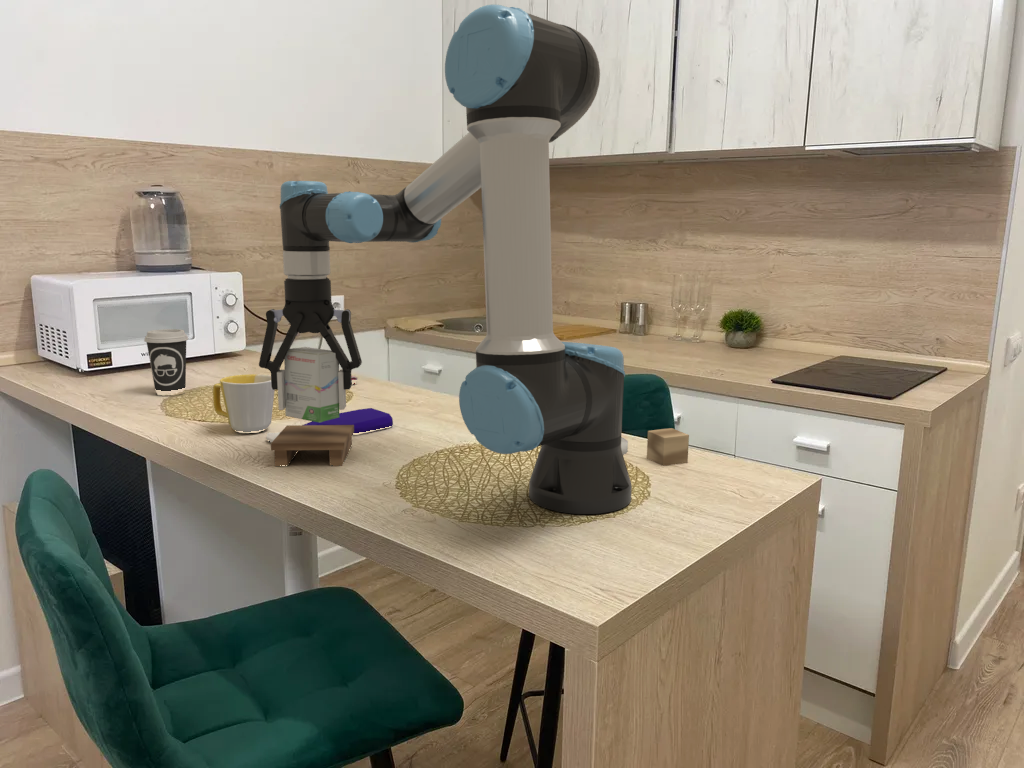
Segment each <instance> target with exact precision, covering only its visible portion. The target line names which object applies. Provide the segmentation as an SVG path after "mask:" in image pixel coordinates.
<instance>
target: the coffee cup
mask: <svg viewBox="0 0 1024 768" xmlns="http://www.w3.org/2000/svg"><path fill="white" fill-rule="evenodd" d="M188 340H189V336H188V334H187V333H185V330H184V329H180V328H179V329H178V328H177V329H175V328H166V329H165V328H164V329H153V330H147V332H146V336H144V339H143V342H145V343H146V346H147V352H148V358H149V363H150V368H151V374H152V380H153V385H154V390H155V389H156V390H161V391H171V390H178V389H182V388H185V387H186V384H187V383H186V379H187V378H186V375H187V373H186V372H187V341H188Z"/></svg>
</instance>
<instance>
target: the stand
mask: <svg viewBox="0 0 1024 768" xmlns="http://www.w3.org/2000/svg"><path fill="white" fill-rule="evenodd" d="M280 432H281V433H280V434H279V435H278V436H277V437H276V438H275V439H274V440H273V442H272V443H271V442H270V451H273V453H274V455H273V456H274V467H275V466H280V465H281V466H282V465H285V466H286V465H288V464H289V462H290V461H291V460H292V461H293V459H294V458H295V457H294V455H295V454H296V452H297V451H298V450H299V451H329V454H328V455H329V467H342V466H343V464H344V463H345V461H344V460H346V459H345V458H347V457H348V455H349V453H350V451H349V449H350V447H351V445H352V446H353V442H352V441H353V439H352V437H353V436H352V435H353V433H354V425H304V424H302V425H301V424H298V425H297V424H296V425H286V426H285V427H284V428H283V429H282V430H281V431H280ZM351 448H352V447H351ZM350 450H351V449H350ZM299 451H298V452H299ZM348 452H349V453H348ZM347 454H348V455H347ZM296 455H297V454H296ZM296 455H295V456H296ZM346 456H347V457H346ZM293 457H294V458H293ZM292 458H293V459H292ZM292 461H291V462H292ZM291 462H290V463H291ZM343 462H344V463H343ZM289 465H290V464H289ZM289 465H288V466H289ZM331 465H333V466H331ZM339 465H340V466H339Z"/></svg>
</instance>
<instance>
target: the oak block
mask: <svg viewBox="0 0 1024 768" xmlns="http://www.w3.org/2000/svg"><path fill="white" fill-rule="evenodd" d="M689 441H690V435H689V434H688V433H685V432H682V431H680V430H678V429H676V428H672V427H671V428H670V427H669V428H661V429H654V430H652V429H651V430H647V443H646V459H648V460H650V461H652V462H654V463H656V464H658V465H660V466H662V467H665V466H673V465H681V464H687V463H689V462H688V461H689V443H690V442H689Z"/></svg>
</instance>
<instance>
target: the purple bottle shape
mask: <svg viewBox="0 0 1024 768" xmlns="http://www.w3.org/2000/svg"><path fill="white" fill-rule="evenodd" d="M393 420H394V419H393V417H392V416H391V414H390V413H389V412H385V411H381V410H378V409H376V408H372V407H369V408H361V409H355V410H348V411H345V412H339V418H335V419H331V420H327V421H323V422H320V423H319V422H314V421H309V422H307V423H305V424H303V425H354V433H359V432H366V431H370V430H376V429H380V428H385V427H389V426H392V425H394V421H393ZM392 427H393V426H392ZM280 433H281V431H279V432H267V434H266V435H265V437H266V438H265V440H266V439H267V440H269V441H270V442H269V441H268V442H269V443H271V442H273V440H274V439H275V438H276V437H277V436H278V435H279V434H280ZM267 440H266V441H267Z"/></svg>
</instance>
